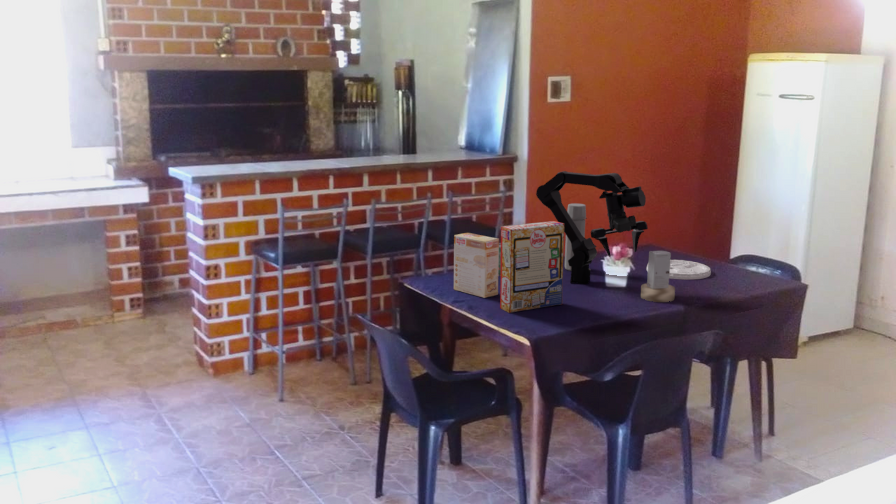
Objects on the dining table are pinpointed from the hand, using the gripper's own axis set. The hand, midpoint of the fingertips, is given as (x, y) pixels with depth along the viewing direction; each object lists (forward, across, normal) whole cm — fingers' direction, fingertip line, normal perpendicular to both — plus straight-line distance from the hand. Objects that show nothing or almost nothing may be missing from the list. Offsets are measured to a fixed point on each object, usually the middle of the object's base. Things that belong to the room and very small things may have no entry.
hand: (622, 254), depth 280 cm
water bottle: (+7, -11, +30) cm, 33 cm away
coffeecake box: (+4, -53, -1) cm, 53 cm away
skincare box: (+12, +7, -10) cm, 17 cm away
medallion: (+14, +26, +26) cm, 40 cm away
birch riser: (+16, +7, -10) cm, 20 cm away
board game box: (+9, -37, -19) cm, 43 cm away
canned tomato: (+3, -38, +24) cm, 45 cm away
